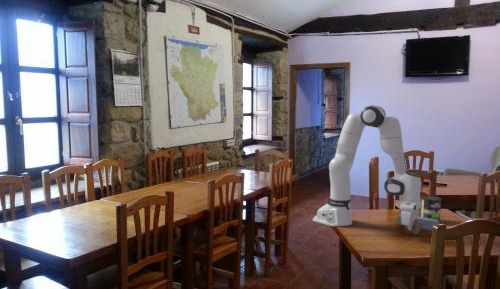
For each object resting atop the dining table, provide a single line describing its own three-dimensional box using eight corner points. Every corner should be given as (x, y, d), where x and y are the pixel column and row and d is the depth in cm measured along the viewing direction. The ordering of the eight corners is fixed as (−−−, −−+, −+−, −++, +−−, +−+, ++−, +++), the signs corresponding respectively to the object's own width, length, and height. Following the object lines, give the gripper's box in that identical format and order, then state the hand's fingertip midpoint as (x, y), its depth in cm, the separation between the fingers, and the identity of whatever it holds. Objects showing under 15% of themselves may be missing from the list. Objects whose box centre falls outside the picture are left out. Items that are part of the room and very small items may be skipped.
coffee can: (444, 223, 227) (445, 199, 226) (427, 224, 225) (429, 200, 224) (432, 218, 237) (433, 195, 236) (416, 219, 235) (418, 196, 234)
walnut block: (404, 232, 212) (404, 224, 212) (409, 227, 220) (409, 219, 220) (416, 234, 209) (416, 226, 208) (421, 229, 217) (421, 221, 216)
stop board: (397, 223, 227) (398, 215, 226) (399, 222, 230) (400, 213, 229) (435, 230, 215) (436, 221, 214) (437, 228, 218) (437, 219, 218)
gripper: (410, 198, 217) (409, 223, 219) (399, 206, 201) (398, 233, 203) (422, 200, 214) (421, 225, 215) (412, 208, 197) (411, 235, 199)
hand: (410, 229), depth 209 cm, fingers closed
